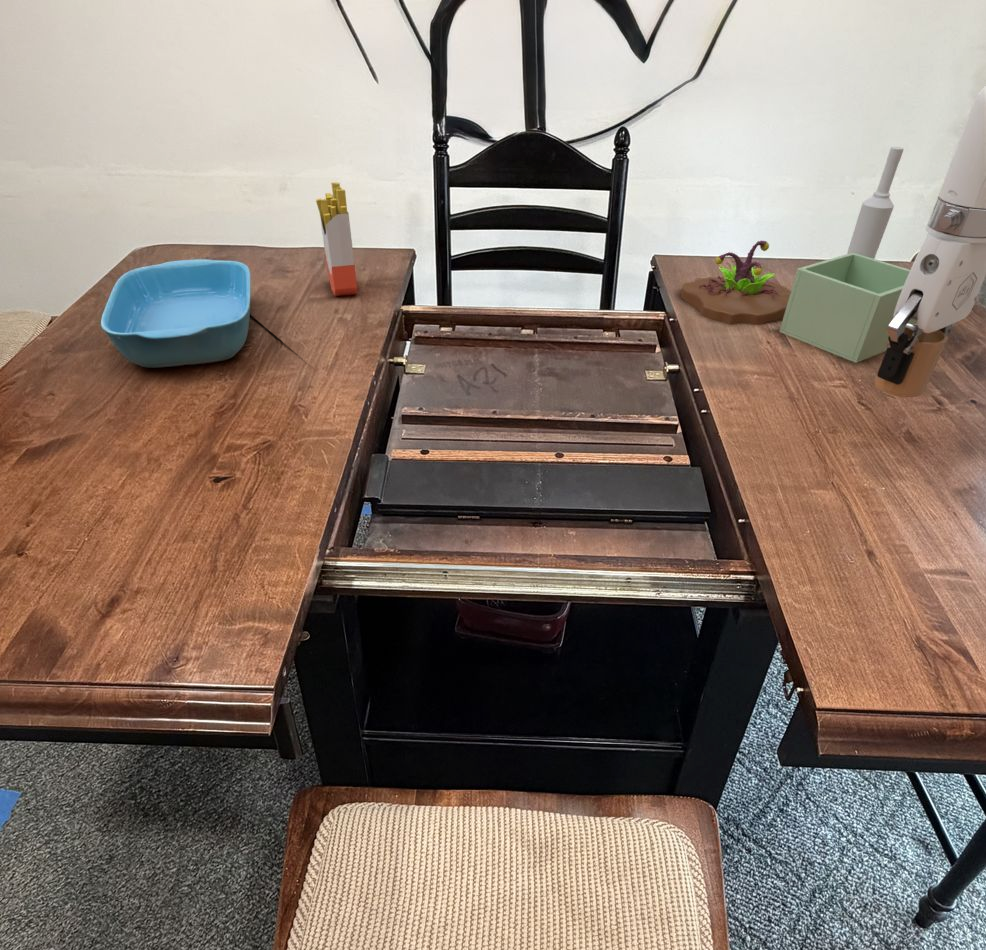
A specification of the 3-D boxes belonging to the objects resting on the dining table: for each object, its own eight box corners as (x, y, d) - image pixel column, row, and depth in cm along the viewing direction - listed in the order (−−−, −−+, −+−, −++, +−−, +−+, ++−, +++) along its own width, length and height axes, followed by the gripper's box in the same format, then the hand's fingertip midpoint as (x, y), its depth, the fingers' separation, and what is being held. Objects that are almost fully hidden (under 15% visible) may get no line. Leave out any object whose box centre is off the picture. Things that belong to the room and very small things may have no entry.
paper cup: (933, 389, 92) (957, 335, 87) (907, 402, 89) (930, 347, 84) (891, 372, 95) (912, 320, 90) (864, 384, 93) (884, 331, 88)
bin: (907, 344, 121) (935, 277, 113) (854, 366, 114) (880, 296, 107) (831, 316, 130) (852, 252, 122) (778, 334, 123) (797, 268, 116)
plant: (815, 321, 128) (836, 255, 120) (716, 331, 124) (732, 263, 116) (758, 283, 142) (774, 222, 134) (668, 291, 138) (679, 228, 131)
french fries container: (334, 303, 132) (319, 194, 120) (327, 283, 139) (312, 179, 127) (359, 300, 133) (346, 193, 121) (350, 281, 140) (338, 178, 128)
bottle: (860, 306, 133) (915, 152, 116) (831, 302, 135) (881, 149, 118) (859, 297, 137) (913, 146, 120) (831, 293, 138) (880, 143, 121)
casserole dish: (134, 300, 132) (120, 259, 127) (257, 291, 136) (249, 251, 131) (106, 388, 106) (88, 341, 101) (260, 373, 110) (250, 328, 105)
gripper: (958, 242, 73) (892, 403, 85) (1041, 213, 80) (969, 366, 92) (892, 224, 77) (837, 380, 89) (975, 199, 84) (915, 346, 97)
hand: (905, 371), depth 91 cm, fingers closed on paper cup, 6 cm apart
